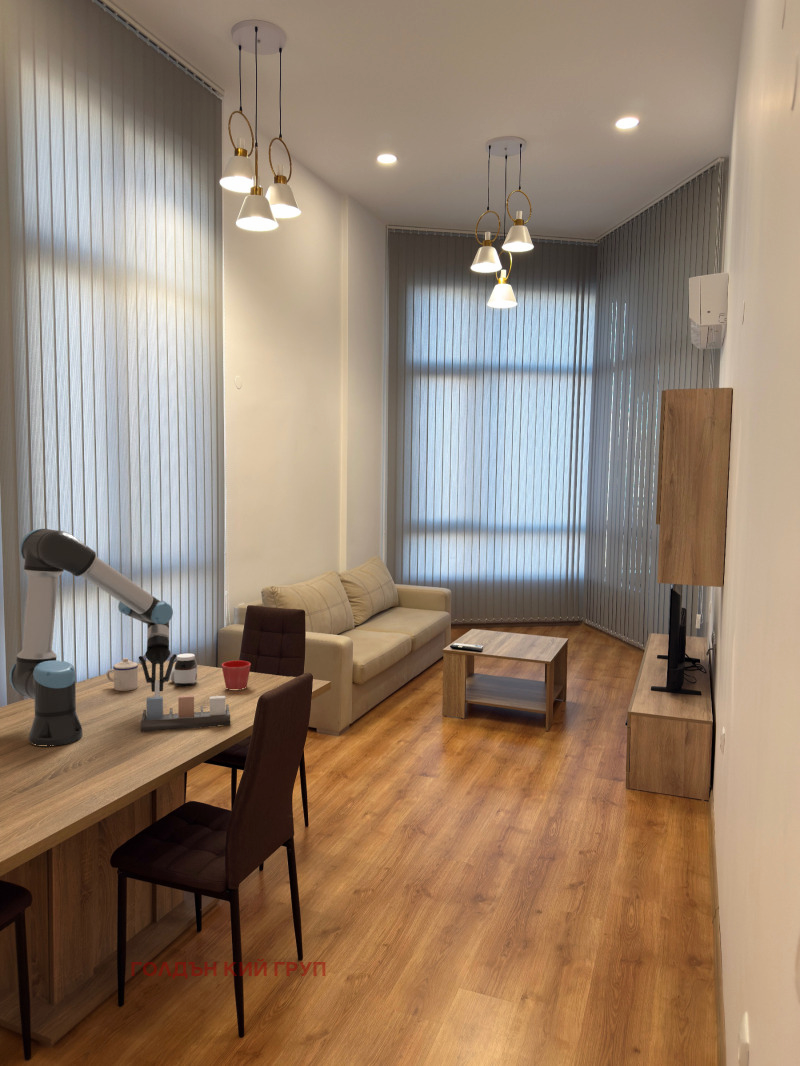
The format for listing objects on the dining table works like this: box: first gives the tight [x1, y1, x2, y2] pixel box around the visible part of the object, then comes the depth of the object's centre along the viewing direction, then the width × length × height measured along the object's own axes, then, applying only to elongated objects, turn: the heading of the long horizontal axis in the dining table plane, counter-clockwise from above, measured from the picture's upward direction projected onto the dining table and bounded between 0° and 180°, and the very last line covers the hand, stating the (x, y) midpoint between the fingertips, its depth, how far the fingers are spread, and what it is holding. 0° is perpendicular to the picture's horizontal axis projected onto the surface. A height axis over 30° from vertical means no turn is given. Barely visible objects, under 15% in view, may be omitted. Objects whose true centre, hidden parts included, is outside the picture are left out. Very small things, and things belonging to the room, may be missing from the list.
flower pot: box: [221, 659, 252, 689], centre depth 291 cm, size 11×11×10 cm
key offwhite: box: [209, 695, 226, 716], centre depth 249 cm, size 2×5×7 cm, turn 105°
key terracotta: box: [177, 694, 195, 718], centre depth 250 cm, size 2×5×7 cm, turn 105°
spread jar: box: [169, 653, 198, 688], centre depth 297 cm, size 12×11×12 cm
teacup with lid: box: [106, 657, 139, 692], centre depth 290 cm, size 12×9×12 cm
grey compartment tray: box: [140, 704, 231, 733], centre depth 250 cm, size 12×28×4 cm, turn 105°
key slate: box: [146, 696, 164, 720], centre depth 247 cm, size 2×5×7 cm, turn 105°
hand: (157, 699), depth 253 cm, fingers closed
